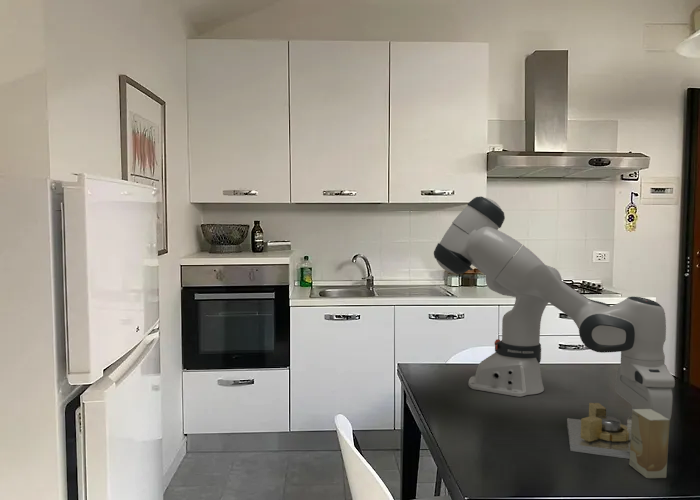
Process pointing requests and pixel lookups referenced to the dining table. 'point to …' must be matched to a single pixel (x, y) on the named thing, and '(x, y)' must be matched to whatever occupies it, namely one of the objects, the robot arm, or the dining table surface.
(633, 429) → the skincare box
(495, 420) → the dining table surface
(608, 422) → the housing
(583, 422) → the ring nut
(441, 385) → the dining table surface
